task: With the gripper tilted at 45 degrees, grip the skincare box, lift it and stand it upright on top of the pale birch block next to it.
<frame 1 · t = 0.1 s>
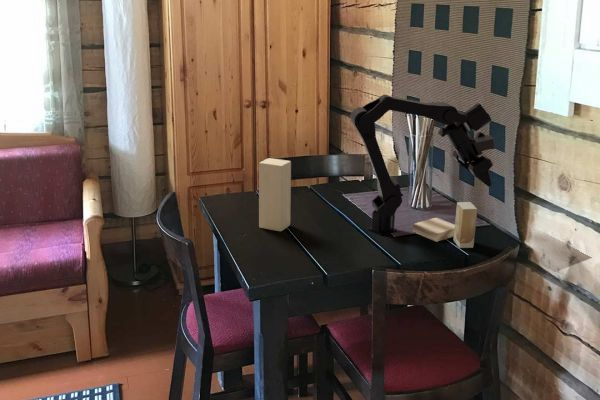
hand: (484, 181, 211), 15 cm above the table, tool tilted 35°, fingers open, 9 cm apart
beige tall rectangular block: (275, 226, 216), on the table
birch block: (435, 234, 211), on the table
skincare box: (463, 244, 202), on the table
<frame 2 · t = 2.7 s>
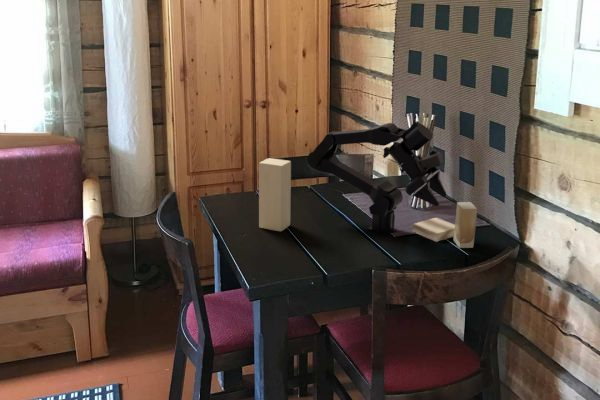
hand: (441, 200, 201), 13 cm above the table, tool tilted 45°, fingers open, 9 cm apart
nothing on the table moved.
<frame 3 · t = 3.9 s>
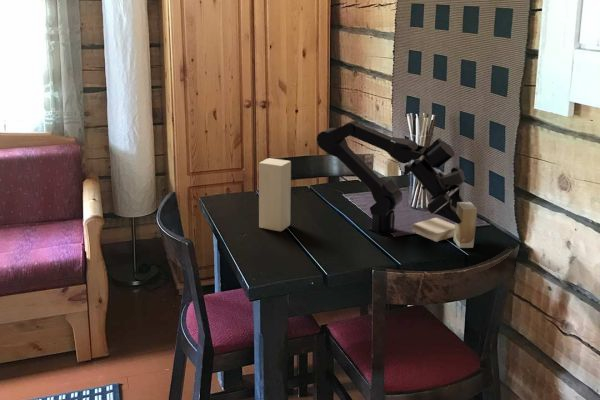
hand: (463, 217, 200), 8 cm above the table, tool tilted 45°, fingers open, 9 cm apart
nothing on the table moved.
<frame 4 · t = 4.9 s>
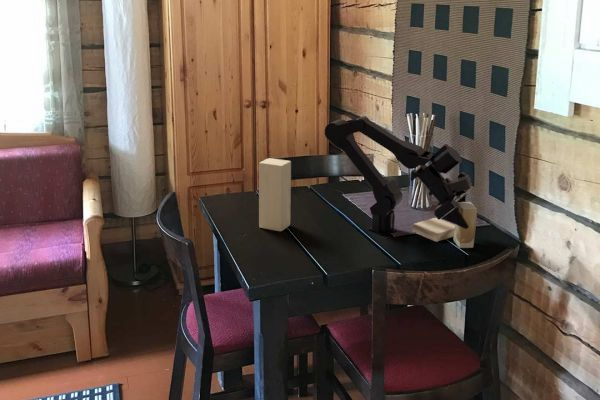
hand: (470, 223, 199), 7 cm above the table, tool tilted 45°, fingers closed on skincare box, 7 cm apart
skincare box: (463, 244, 202), on the table, touching gripper
everything else where it was.
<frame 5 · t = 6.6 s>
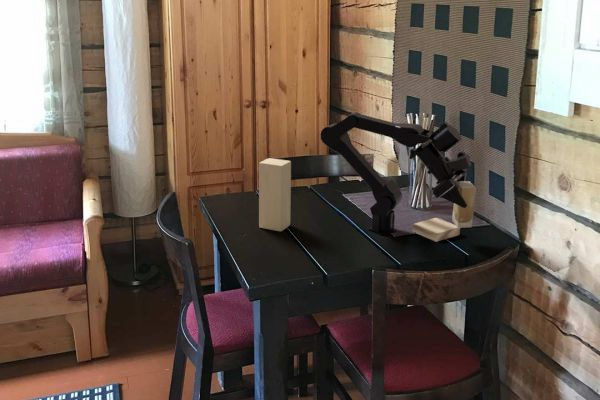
hand: (468, 203, 198), 13 cm above the table, tool tilted 45°, fingers closed on skincare box, 7 cm apart
skincare box: (461, 224, 201), point 6 cm above the table, touching gripper
everything else where it was.
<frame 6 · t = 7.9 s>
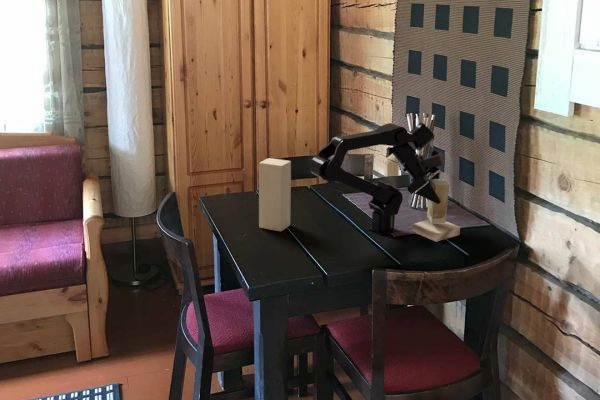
hand: (442, 199, 206), 11 cm above the table, tool tilted 45°, fingers closed on skincare box, 7 cm apart
skincare box: (436, 220, 209), point 4 cm above the table, touching gripper
everything else where it was.
when the fingers open (11 cm above the table, at t = 8.5 s): skincare box drops 1 cm, point 2 cm above the table.
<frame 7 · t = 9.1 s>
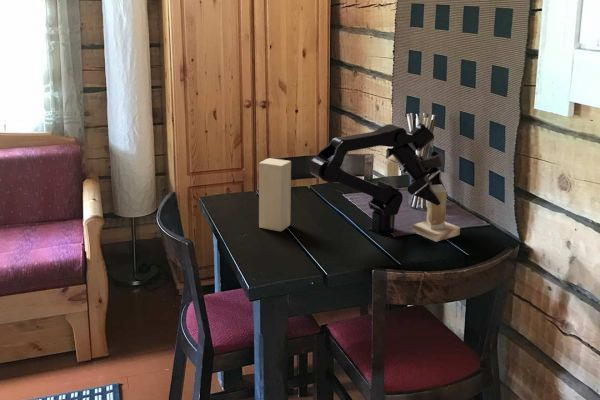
hand: (443, 200, 206), 11 cm above the table, tool tilted 45°, fingers open, 9 cm apart
skincare box: (435, 226, 210), point 2 cm above the table, touching gripper
everything else where it was.
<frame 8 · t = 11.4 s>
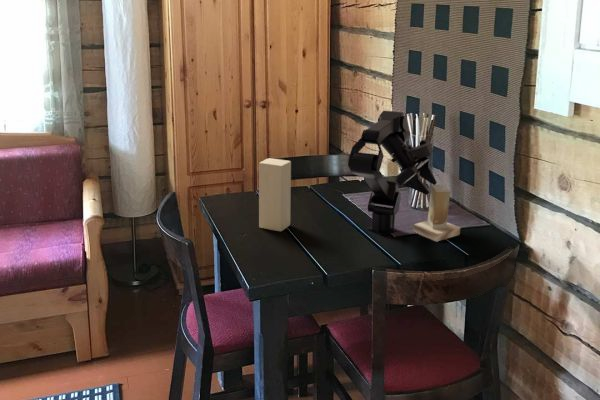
hand: (431, 188, 208), 14 cm above the table, tool tilted 45°, fingers open, 9 cm apart
birch block: (436, 235, 211), on the table, touching skincare box
skincare box: (436, 225, 210), point 2 cm above the table, touching birch block
everything else where it was.
at the end: skincare box inside the target area on the birch block (0.1 cm from its centre), point 2.9 cm above the birch block's base; skincare box tilted 2°; the gripper is holding nothing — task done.
